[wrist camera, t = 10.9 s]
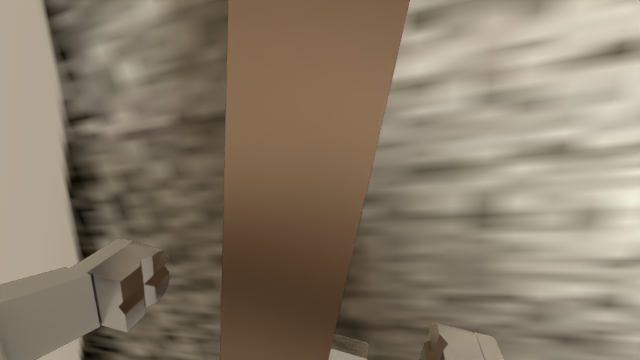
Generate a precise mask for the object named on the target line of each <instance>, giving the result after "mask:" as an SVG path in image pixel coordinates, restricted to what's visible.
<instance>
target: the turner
mask: <svg viewBox="0 0 640 360" xmlns="http://www.w3.org/2000/svg"><path fill="white" fill-rule="evenodd" d="M409 2H410V0H228V36H227V79H226V122H225V165H224V207H223V250H222V293H221V335H220V360H367V358H368V343H367V342H363V341H360V340H356V339H353V338H349V337H346V336H342V335H339V334H335V328H336V324H337V320H338V315H339V311H340V306H341V302H342V297H343V293H344V289H345V284H346V280H347V275H348V271H349V267H350V262H351V258H352V253H353V249H354V245H355V240H356V236H357V231H358V227H359V222H360V218H361V214H362V209H363V205H364V200H365V196H366V192H367V187H368V183H369V178H370V174H371V170H372V165H373V161H374V156H375V152H376V147H377V143H378V139H379V134H380V130H381V125H382V121H383V117H384V112H385V108H386V103H387V99H388V95H389V90H390V86H391V81H392V77H393V72H394V68H395V64H396V59H397V55H398V50H399V46H400V42H401V37H402V33H403V28H404V24H405V20H406V15H407V11H408V6H409Z"/></svg>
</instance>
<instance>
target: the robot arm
mask: <svg viewBox="0 0 640 360" xmlns="http://www.w3.org/2000/svg"><path fill="white" fill-rule="evenodd" d="M167 262H168V252H166V251H164V250H162V249H159V248H155V247H152V246H149V245H145V244H142V243H138V242H134V241H130V240H127V239H124V238H121V239H116V240H114V241H113V242H111V243H109V244H108V245H106V246H105V247H103V248H101V249H100V250H98V251H97V252H95V253H94V254H92V255H90V256H89V257H87V258H86V259H84V260H82V261H81V262H79V263H78V264H76V265H74V266H73V267H71V268H66V267H64V268H60V269H57V270H53V271H49V272H45V273H42V274H38V275H35V276H30V277H27V278H23V279H19V280H16V281H12V282H8V283H5V284H1V285H0V360H36V359H38V358H40V357H42V356H43V355H46V354H48V353H50V352H52V351H54V350H55V349H57V348H59V347H61V346H63V345H65V344H67V343H69V342H71V341H73V340H75V339H77V338H79V337H81V336H83V335H85V334H87V333H89V332H91V331H93V330H95V329H97V328H99V327H100V325H102V326H106V327H110V328H113V329H117V330H120V331H124V332H128V331H129V330H130V329H131V328H132V327H133V326H134V325H135V324H136V323H137V322H138V321H139V320H140V319H141V318H142V317H143V316H144V315H145V312H146V307H148V306H150V305H153V304H155V303H157V302H158V301H159V299H160V298H161V297H162V296H163V295H164V293H165V291H166V289H167V287H168V284H169V279H170V278H169V272H168V270H167V269H166V267H165V265H166V264H167ZM429 336H430V341H428V342H426V343H424V346H423V348H422V351H421V357H420V360H504V358H503V356H502V353H501V351H500V349H499V346H498V344H497V341H496V340H495V339H494V338H493V337H492V336H488V335H484V334H480V333H476V332H471V331H468V330H464V329H460V328H456V327H452V326H448V325H444V324H440V323H437V322H434V323H433V324H432V325H431V328H430V330H429Z"/></svg>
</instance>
